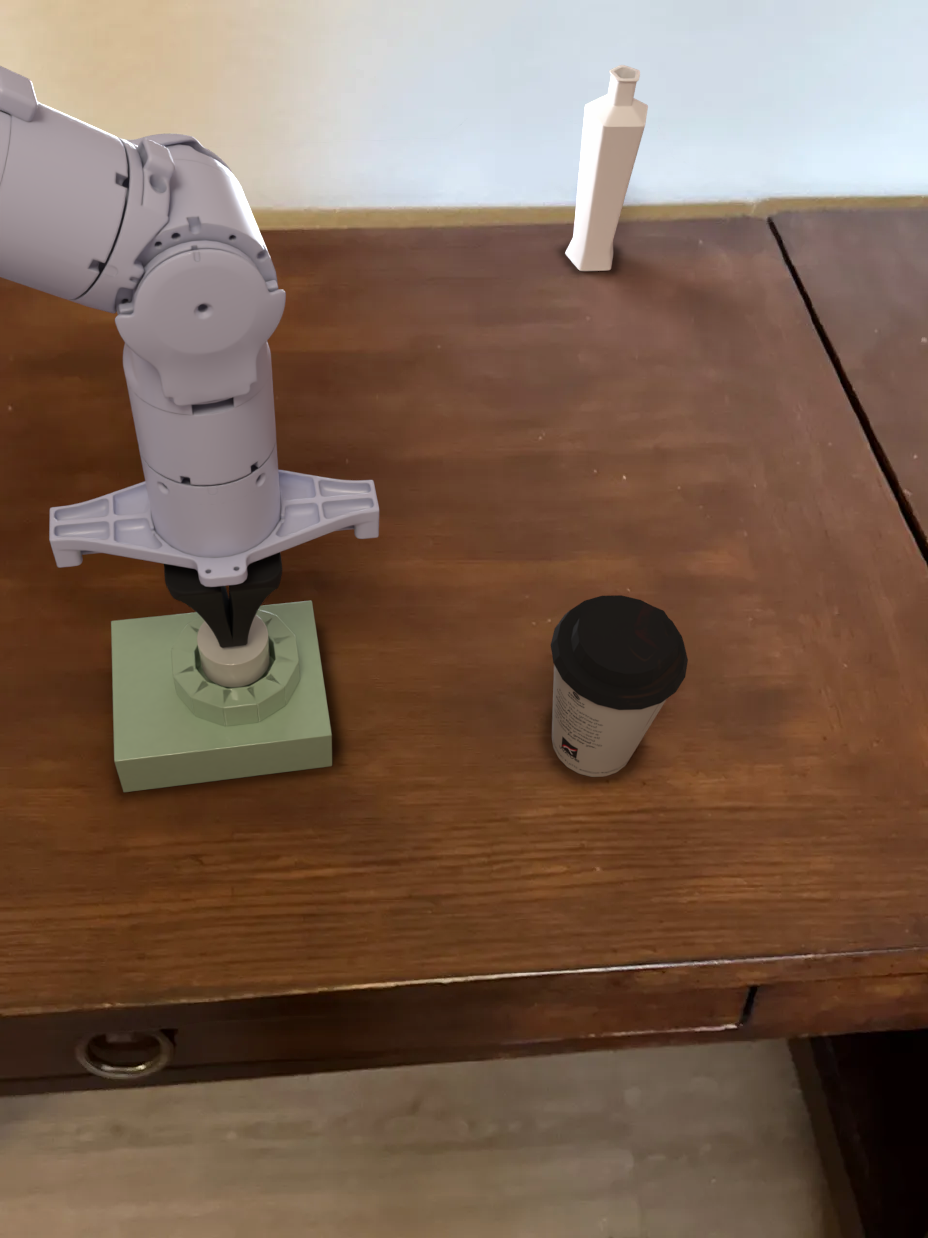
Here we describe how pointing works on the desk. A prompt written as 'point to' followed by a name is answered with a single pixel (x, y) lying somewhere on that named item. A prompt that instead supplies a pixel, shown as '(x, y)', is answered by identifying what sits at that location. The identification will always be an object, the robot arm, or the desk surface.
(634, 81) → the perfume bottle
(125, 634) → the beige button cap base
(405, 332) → the desk surface
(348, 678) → the desk surface
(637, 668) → the coffee cup
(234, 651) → the beige button cap
